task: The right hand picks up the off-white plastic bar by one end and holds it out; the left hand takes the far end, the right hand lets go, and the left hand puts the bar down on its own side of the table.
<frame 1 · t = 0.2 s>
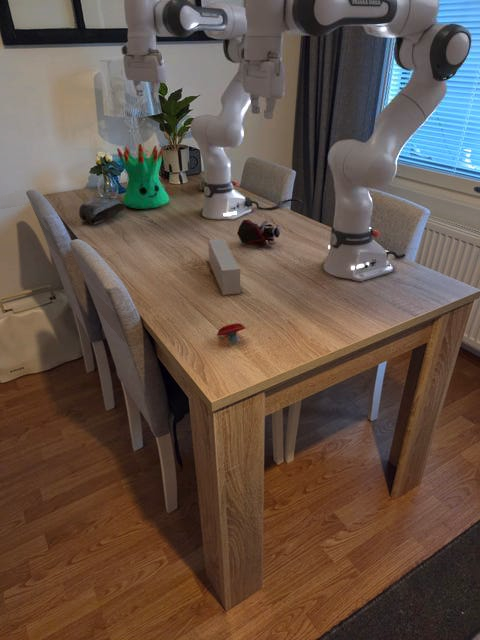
left hand: (147, 96, 149), 48 cm above the table, tool pointing down, fingers open, 8 cm apart
right hand: (261, 116, 112), 47 cm above the table, tool pointing down, fingers open, 8 cm apart
toy 2: (146, 204, 204), on the table
toy: (257, 244, 163), on the table
artifact: (213, 189, 226), on the table
red mushroom: (231, 340, 110), on the table
bar: (223, 276, 141), on the table
rock: (104, 219, 186), on the table
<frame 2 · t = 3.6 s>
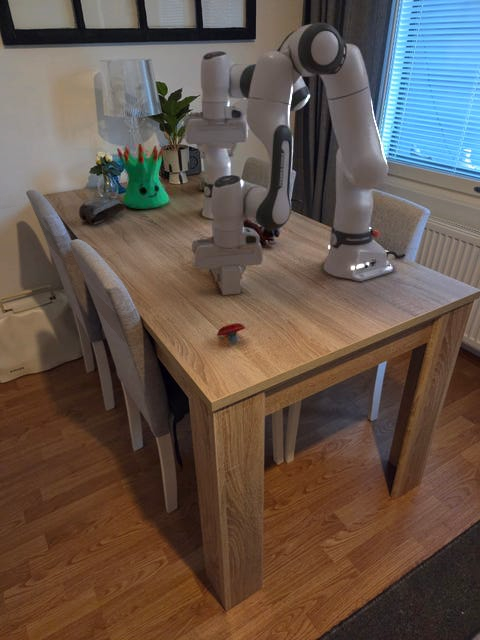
left hand: (216, 157, 147), 31 cm above the table, tool pointing down, fingers open, 8 cm apart
right hand: (228, 279, 133), 3 cm above the table, tool pointing down, fingers closed on bar, 5 cm apart
bar: (223, 276, 140), on the table, touching right hand
everything else where it was.
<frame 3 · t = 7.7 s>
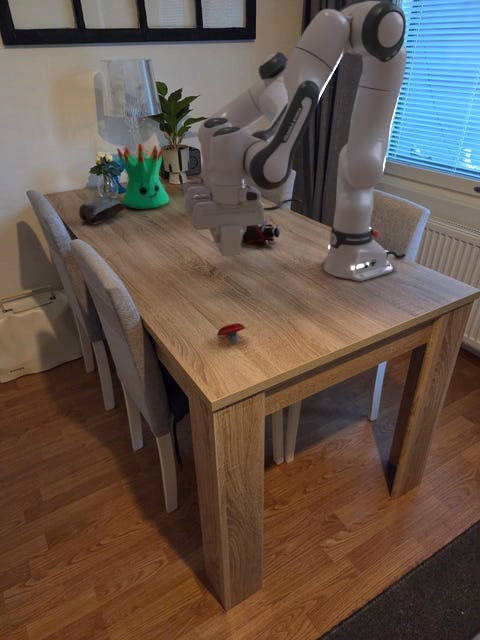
left hand: (218, 223, 139), 15 cm above the table, tool pointing down, fingers closed on bar, 5 cm apart
right hand: (228, 241, 126), 15 cm above the table, tool pointing down, fingers closed on bar, 5 cm apart
bar: (223, 240, 134), point 12 cm above the table, touching left hand, right hand
everything else where it was.
when the right hand's fingers open (15 cm above the table, at t = 8.9 s): bar stays where it is, held by the left hand.
when the left hand's fingers open (4 cm above the table, at t = 13.0 s): bar stays where it is, on the table.
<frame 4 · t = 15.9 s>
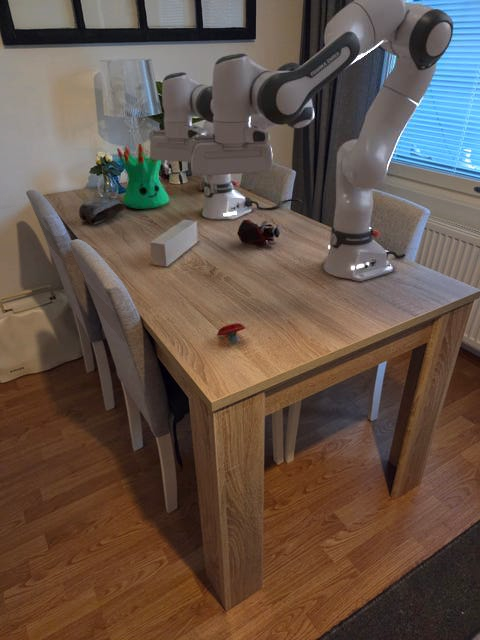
left hand: (181, 174, 150), 25 cm above the table, tool pointing down, fingers open, 8 cm apart
right hand: (232, 191, 113), 31 cm above the table, tool pointing down, fingers open, 8 cm apart
bar: (176, 252, 157), on the table
everything else where it was.
at the end: bar inside the target area (7.8 cm from its centre), on the table; the left hand is holding nothing; the right hand is holding nothing; bar at rest at the end (0.0 cm/s) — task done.
